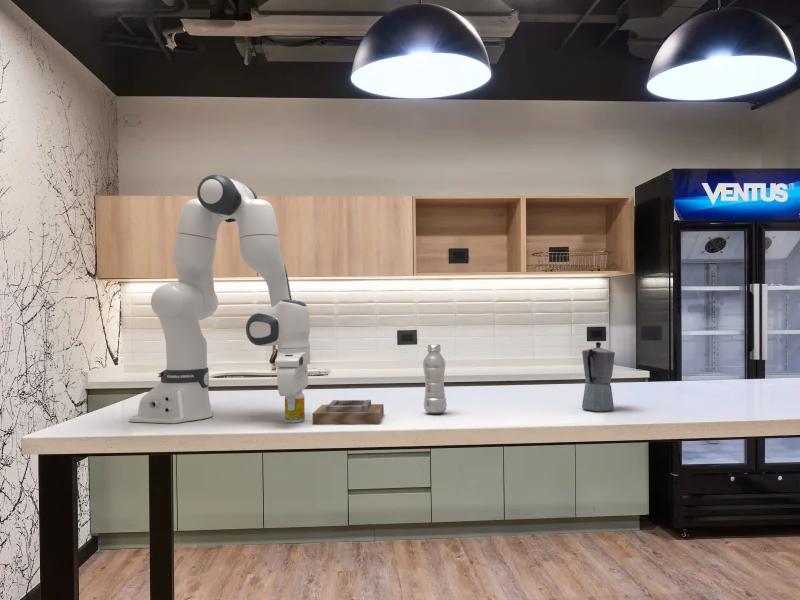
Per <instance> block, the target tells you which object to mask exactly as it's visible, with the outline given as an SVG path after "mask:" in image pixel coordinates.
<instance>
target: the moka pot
mask: <svg viewBox="0 0 800 600" xmlns="http://www.w3.org/2000/svg"><path fill="white" fill-rule="evenodd" d="M601 345H602V343H601V342H600V341H597V342H595V347H592V348H588V349H584V350H582V352H581V354H582V363H583V372H584V377H585V384H584V390H583V391H584V392H583V397H582V403H581V408H582V409H583V410H587V411H593V412H612V411H614V410H615V406H614V405H615V404H614V398H613V390H612V389H613V388H612V385H611V383H612V377H613V371H614V363H615V355H616V354H615V353H616V352H614V351H612V350H608V349H606V348H602V347H601Z"/></svg>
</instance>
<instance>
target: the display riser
mask: <svg viewBox="0 0 800 600" xmlns="http://www.w3.org/2000/svg"><path fill="white" fill-rule="evenodd" d="M384 406H385V405H384V403H372V400H371V399H332V400H331V402H330V403H329V404H321V405H320V406H319V407H318V408H317V409H316V410H314V411H313V412H312V425H380V424H381V422H382V420H381V419H383V418H384V415H385V414H384V413H385V411H384ZM380 421H381V422H380Z"/></svg>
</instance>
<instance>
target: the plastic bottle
mask: <svg viewBox="0 0 800 600" xmlns="http://www.w3.org/2000/svg"><path fill="white" fill-rule="evenodd" d="M426 351H427V352H428V353H427V354H426V356H425V357H424V359H423V362H422V366H423V374H424V382H425V383H424V384H425V386H424V389H425V391H424V399H423V408H424V411H425V413H428V414H432V415H438V414H443V413H445V412H446V411H447V405H448V404H447V398H446V393H445V391H446V390H445V371H446V361H445V359H444V357H443V356H442V354H441V344H428V345H427V350H426Z"/></svg>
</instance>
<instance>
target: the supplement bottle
mask: <svg viewBox="0 0 800 600" xmlns="http://www.w3.org/2000/svg"><path fill="white" fill-rule="evenodd" d="M301 391H302V393H301ZM295 407H296V408H295V410H293V411H289V410H288V403H287V400H286V396H284V421H285V422H286V423H290V422H291V423H292V424H293V423H294V424H295V422H296V423H302V422H304V421H305V415H306V414H305V409H306V408H305V394H304V393H303V389H302V386H300V391H299V392H297V393H296V394H295Z"/></svg>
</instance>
